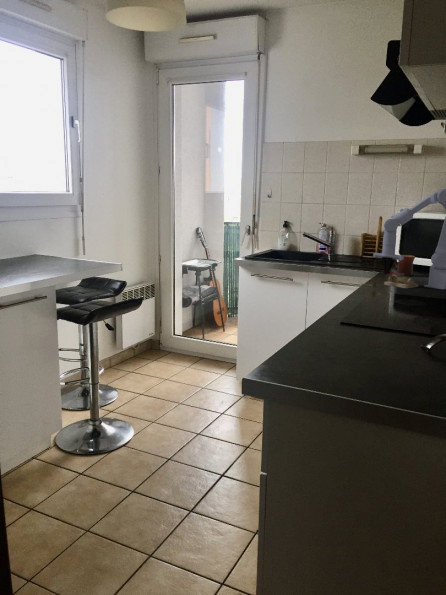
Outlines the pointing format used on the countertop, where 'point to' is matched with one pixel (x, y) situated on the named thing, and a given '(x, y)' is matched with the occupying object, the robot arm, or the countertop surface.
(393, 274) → the valve lever
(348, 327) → the countertop surface
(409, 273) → the mug
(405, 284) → the valve board
